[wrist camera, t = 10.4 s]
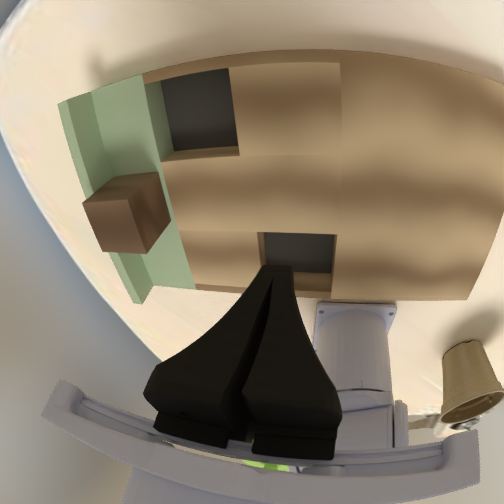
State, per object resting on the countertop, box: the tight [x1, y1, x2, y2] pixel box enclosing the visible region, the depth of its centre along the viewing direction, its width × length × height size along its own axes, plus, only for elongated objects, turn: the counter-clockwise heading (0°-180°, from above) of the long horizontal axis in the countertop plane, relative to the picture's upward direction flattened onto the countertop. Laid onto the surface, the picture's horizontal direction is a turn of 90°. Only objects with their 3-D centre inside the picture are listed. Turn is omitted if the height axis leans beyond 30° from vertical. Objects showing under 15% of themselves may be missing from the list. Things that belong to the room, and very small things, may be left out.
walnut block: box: [82, 171, 171, 254], centre depth 18 cm, size 4×4×4 cm
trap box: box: [58, 50, 504, 304], centre depth 17 cm, size 18×30×5 cm, turn 96°
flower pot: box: [439, 340, 504, 424], centre depth 25 cm, size 9×9×9 cm
